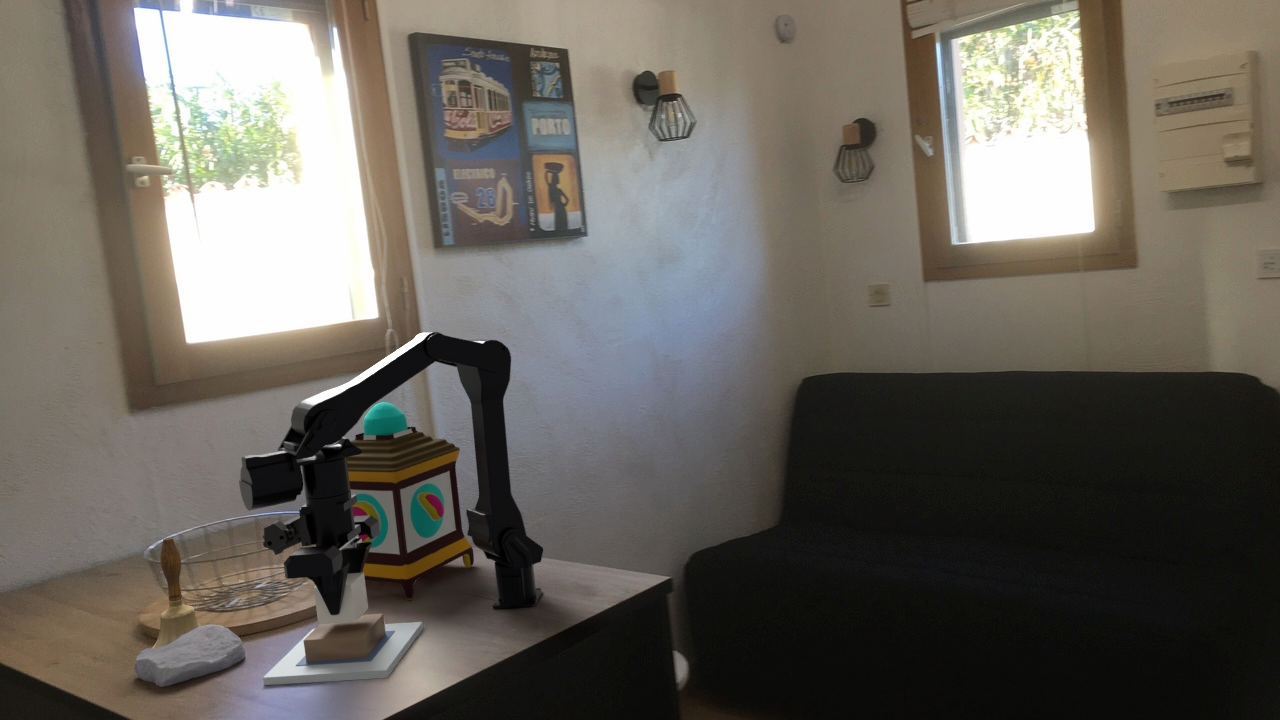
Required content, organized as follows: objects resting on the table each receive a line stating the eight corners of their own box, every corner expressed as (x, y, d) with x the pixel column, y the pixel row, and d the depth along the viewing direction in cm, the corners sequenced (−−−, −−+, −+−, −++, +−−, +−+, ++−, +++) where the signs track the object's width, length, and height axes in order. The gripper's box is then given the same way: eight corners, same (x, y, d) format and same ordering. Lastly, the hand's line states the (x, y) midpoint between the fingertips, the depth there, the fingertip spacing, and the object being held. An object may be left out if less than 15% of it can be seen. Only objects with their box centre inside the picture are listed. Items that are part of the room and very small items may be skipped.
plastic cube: (332, 610, 131) (328, 574, 130) (368, 607, 131) (363, 572, 130) (318, 624, 126) (313, 587, 125) (355, 621, 126) (350, 585, 125)
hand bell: (153, 643, 140) (138, 537, 138) (215, 631, 143) (200, 527, 141) (146, 664, 132) (130, 551, 131) (211, 650, 135) (196, 540, 134)
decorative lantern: (396, 557, 173) (377, 393, 170) (486, 564, 164) (468, 391, 161) (314, 596, 155) (291, 413, 152) (411, 605, 146) (388, 412, 143)
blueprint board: (313, 635, 137) (310, 608, 137) (423, 628, 136) (419, 601, 136) (264, 685, 121) (259, 654, 121) (387, 677, 120) (383, 647, 120)
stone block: (255, 670, 132) (216, 643, 137) (253, 639, 130) (214, 613, 136) (169, 709, 122) (131, 679, 128) (166, 676, 121) (128, 647, 127)
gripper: (297, 481, 136) (311, 587, 138) (235, 516, 118) (252, 638, 119) (374, 475, 136) (387, 582, 137) (323, 510, 117) (339, 633, 119)
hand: (342, 607), depth 128 cm, fingers closed on plastic cube, 5 cm apart
